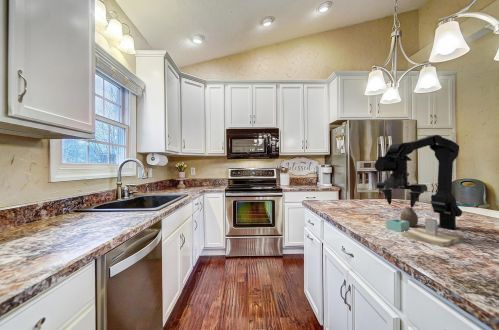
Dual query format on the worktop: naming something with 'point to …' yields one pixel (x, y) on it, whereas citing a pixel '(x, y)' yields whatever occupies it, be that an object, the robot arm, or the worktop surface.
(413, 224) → the vase
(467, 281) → the worktop surface
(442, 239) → the board
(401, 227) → the teal open cube
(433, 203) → the robot arm
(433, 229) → the grey rectangular peg
